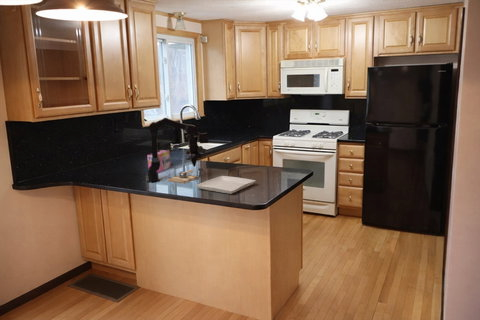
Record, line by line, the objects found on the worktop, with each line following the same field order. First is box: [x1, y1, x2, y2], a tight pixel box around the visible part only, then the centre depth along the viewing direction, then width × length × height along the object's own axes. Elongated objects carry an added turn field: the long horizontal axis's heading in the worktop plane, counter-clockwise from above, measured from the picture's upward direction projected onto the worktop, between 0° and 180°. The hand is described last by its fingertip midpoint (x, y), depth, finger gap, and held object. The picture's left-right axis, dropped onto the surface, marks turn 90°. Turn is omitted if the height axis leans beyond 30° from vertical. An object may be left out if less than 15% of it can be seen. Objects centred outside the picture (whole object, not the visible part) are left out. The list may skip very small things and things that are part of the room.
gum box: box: [147, 149, 172, 174], centre depth 306 cm, size 24×8×14 cm, turn 165°
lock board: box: [167, 174, 199, 184], centre depth 272 cm, size 15×14×2 cm
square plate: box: [195, 175, 256, 195], centre depth 248 cm, size 27×27×4 cm
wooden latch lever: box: [178, 168, 194, 178], centre depth 274 cm, size 13×5×3 cm, turn 148°
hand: (194, 166), depth 273 cm, fingers closed
